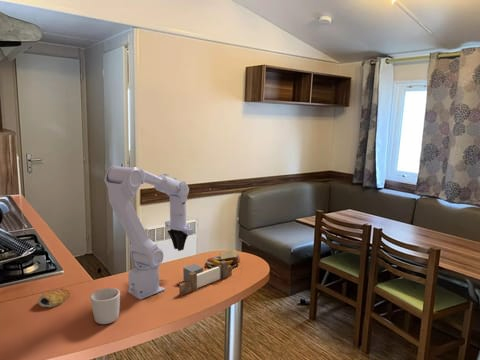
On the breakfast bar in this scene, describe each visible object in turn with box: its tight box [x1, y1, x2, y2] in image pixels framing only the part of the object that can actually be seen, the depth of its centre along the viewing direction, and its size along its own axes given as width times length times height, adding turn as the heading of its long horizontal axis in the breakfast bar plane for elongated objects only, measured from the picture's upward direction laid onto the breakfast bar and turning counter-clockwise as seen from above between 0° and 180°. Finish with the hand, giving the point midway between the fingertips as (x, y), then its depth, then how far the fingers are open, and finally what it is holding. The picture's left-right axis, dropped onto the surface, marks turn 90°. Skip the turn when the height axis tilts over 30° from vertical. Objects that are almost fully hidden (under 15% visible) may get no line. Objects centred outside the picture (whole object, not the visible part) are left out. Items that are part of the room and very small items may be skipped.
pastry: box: [37, 287, 70, 308], centre depth 118 cm, size 9×7×4 cm
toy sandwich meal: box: [205, 249, 241, 269], centre depth 147 cm, size 12×14×5 cm
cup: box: [90, 287, 121, 325], centre depth 108 cm, size 11×8×8 cm
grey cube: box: [182, 263, 204, 282], centre depth 132 cm, size 5×5×5 cm
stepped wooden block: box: [179, 260, 233, 296], centre depth 129 cm, size 22×2×6 cm, turn 135°
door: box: [197, 265, 222, 289], centre depth 130 cm, size 11×1×5 cm, turn 135°
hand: (178, 249), depth 137 cm, fingers closed
